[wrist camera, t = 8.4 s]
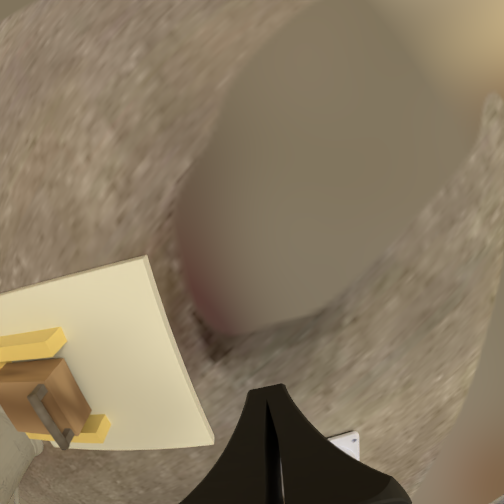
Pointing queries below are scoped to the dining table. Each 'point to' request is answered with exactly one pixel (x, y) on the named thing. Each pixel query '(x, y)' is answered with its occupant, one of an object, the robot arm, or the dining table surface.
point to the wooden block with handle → (43, 399)
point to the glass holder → (14, 457)
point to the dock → (109, 355)
